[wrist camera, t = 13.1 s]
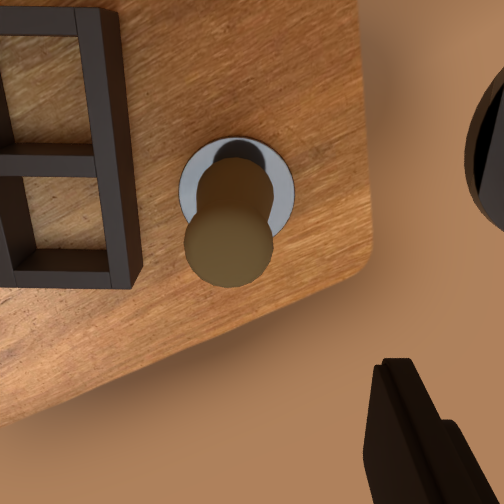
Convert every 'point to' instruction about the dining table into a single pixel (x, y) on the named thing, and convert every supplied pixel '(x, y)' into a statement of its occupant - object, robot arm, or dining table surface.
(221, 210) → the cork
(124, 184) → the holder
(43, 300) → the dining table surface
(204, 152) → the coaster
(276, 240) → the dining table surface
